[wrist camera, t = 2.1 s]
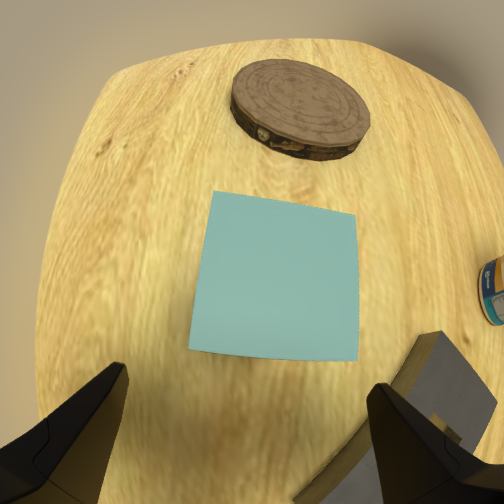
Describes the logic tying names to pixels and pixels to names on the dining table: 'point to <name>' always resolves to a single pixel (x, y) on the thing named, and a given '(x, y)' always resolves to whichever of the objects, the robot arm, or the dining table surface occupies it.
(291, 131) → the wood slice
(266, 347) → the teal peg
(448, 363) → the square-hole plate
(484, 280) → the beverage bottle
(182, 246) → the dining table surface
